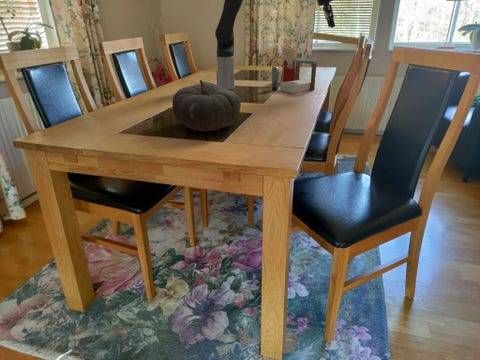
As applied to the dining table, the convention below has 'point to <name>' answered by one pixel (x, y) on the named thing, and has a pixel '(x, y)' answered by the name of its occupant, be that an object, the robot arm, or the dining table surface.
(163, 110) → the dining table surface
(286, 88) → the socket block
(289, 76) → the milk carton
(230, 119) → the gourd
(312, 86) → the grey arch
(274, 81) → the peg
